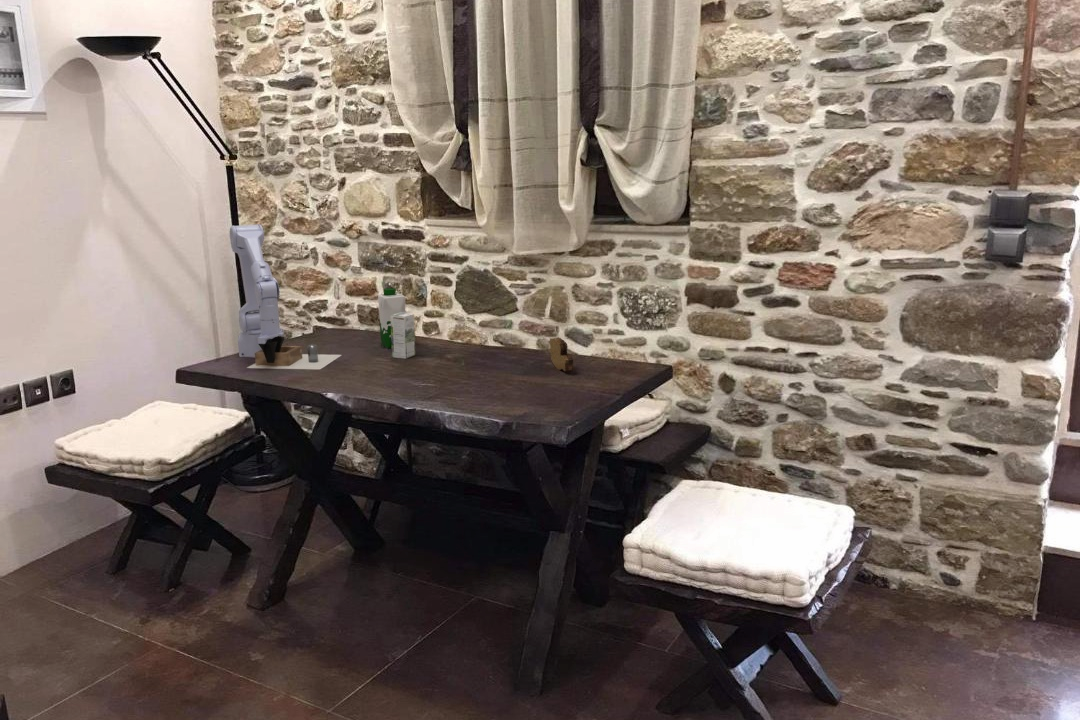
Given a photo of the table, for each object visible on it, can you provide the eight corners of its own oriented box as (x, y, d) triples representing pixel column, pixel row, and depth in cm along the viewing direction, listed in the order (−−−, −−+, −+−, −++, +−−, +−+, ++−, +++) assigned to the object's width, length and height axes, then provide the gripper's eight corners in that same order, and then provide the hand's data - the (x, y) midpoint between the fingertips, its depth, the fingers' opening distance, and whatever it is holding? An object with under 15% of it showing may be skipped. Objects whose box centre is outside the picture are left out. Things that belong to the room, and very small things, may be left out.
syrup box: (401, 354, 297) (399, 311, 294) (416, 355, 294) (414, 313, 291) (391, 357, 292) (389, 314, 289) (406, 359, 289) (404, 316, 286)
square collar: (255, 365, 278) (254, 353, 277) (270, 357, 289) (269, 345, 288) (289, 365, 277) (288, 353, 276) (302, 358, 287) (301, 346, 287)
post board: (246, 371, 275) (244, 351, 274) (273, 357, 295) (271, 338, 293) (320, 373, 272) (319, 352, 271) (342, 358, 292) (340, 339, 290)
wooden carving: (579, 374, 268) (579, 342, 265) (565, 375, 266) (565, 343, 264) (557, 362, 282) (557, 332, 280) (544, 364, 281) (543, 333, 278)
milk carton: (401, 342, 315) (399, 287, 311) (410, 347, 308) (407, 290, 303) (378, 345, 312) (375, 289, 307) (386, 349, 304) (383, 292, 299)
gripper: (272, 323, 267) (275, 367, 270) (290, 315, 281) (294, 356, 284) (250, 323, 268) (253, 366, 271) (269, 314, 282) (273, 356, 285)
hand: (273, 361), depth 278 cm, fingers open, 3 cm apart
